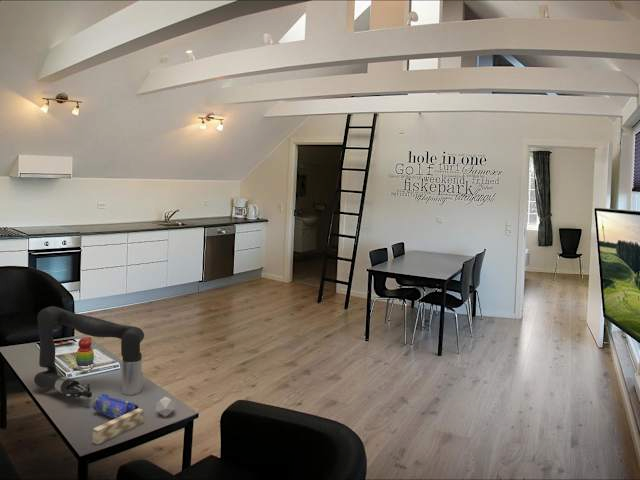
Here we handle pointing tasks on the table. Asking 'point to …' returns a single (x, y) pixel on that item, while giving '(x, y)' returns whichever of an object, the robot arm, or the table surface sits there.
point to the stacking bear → (84, 352)
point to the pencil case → (112, 406)
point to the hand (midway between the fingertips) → (90, 395)
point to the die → (165, 406)
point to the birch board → (117, 426)
